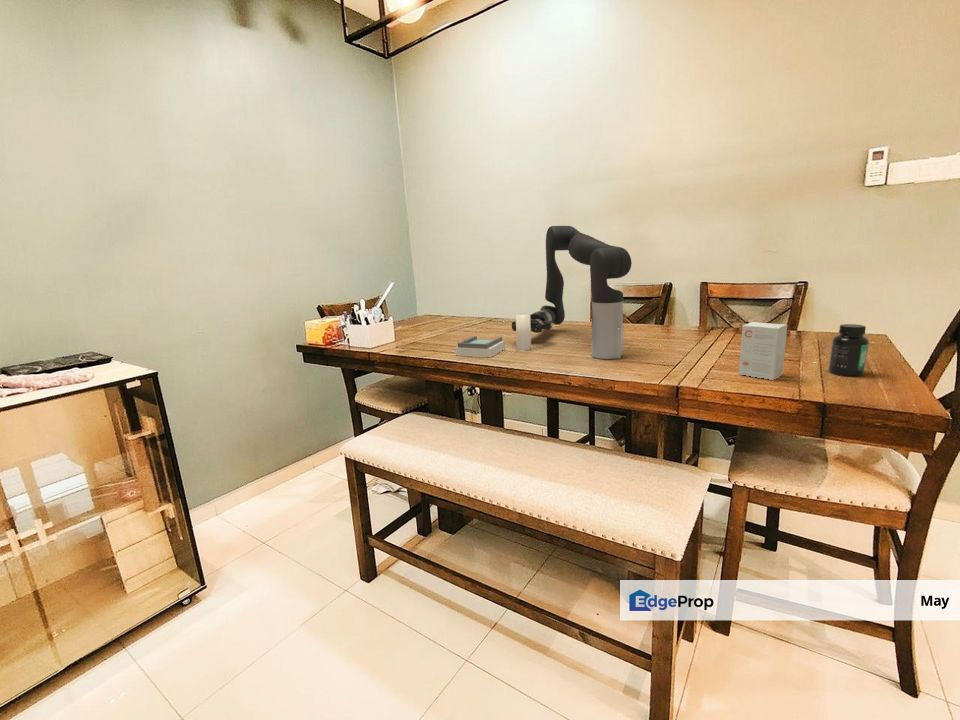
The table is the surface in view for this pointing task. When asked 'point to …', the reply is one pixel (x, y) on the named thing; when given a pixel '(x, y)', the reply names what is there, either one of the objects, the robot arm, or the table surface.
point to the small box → (762, 350)
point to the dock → (480, 347)
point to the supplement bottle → (849, 351)
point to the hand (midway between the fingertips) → (525, 328)
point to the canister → (523, 332)
